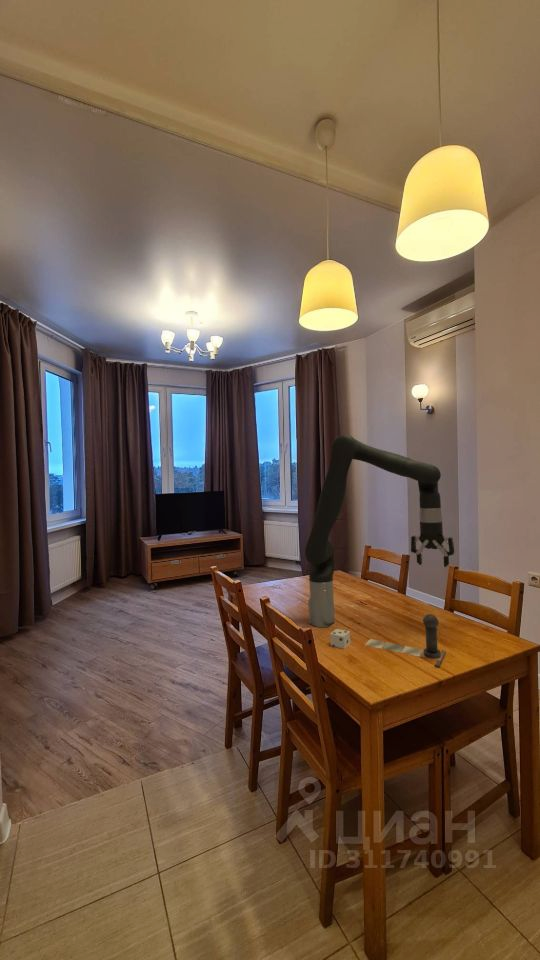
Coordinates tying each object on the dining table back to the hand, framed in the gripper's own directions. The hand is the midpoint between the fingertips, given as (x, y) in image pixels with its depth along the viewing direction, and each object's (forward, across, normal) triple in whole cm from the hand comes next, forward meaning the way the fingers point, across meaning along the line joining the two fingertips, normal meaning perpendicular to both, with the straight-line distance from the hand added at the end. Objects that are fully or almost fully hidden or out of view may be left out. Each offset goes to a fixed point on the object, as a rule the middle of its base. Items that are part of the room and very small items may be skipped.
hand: (432, 565), depth 139 cm
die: (+24, -25, -27) cm, 44 cm away
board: (+24, -6, -21) cm, 33 cm away
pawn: (+23, +3, -21) cm, 31 cm away
